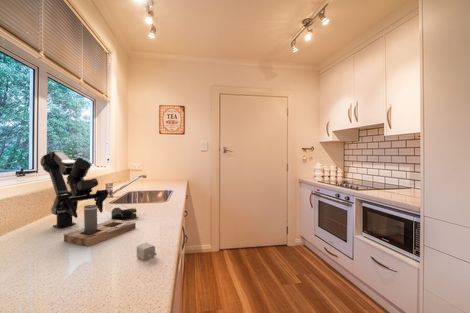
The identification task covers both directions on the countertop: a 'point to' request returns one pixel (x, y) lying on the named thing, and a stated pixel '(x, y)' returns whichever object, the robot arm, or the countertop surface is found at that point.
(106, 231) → the socket plate
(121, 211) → the pipe connector
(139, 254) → the usb wall charger
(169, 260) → the countertop surface
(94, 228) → the grey cylinder
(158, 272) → the countertop surface
